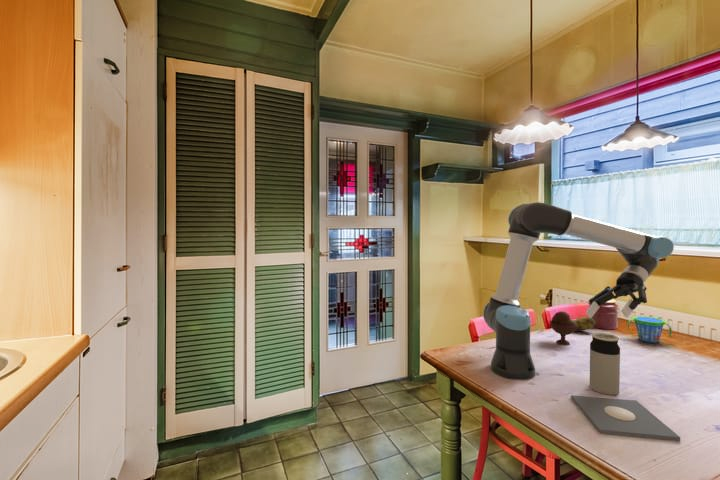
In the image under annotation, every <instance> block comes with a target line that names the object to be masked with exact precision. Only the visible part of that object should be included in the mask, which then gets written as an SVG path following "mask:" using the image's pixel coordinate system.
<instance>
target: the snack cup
mask: <svg viewBox="0 0 720 480" xmlns="http://www.w3.org/2000/svg"><path fill="white" fill-rule="evenodd" d="M632 321H634V323H635V324H634V325H635V327H636V332H637V337H638V339H639V340H640V341H641V342H646V343H654V344H657V343H659V342H661V341H660V340H661V336H662V331H663V328H664V325H666V326H668V329H669V334H668V337H672V333H673V330H672V326H671V325H670V324H669V323H668V322H667V321H666V322H665V320H664V319H662V318H661V319H660V318H657V317H652V316H644V315H643V316H641V315H640V316H635V317H632V318H630V319H629V320H628V322H627V330H628V332H630V323H631V322H632Z"/></svg>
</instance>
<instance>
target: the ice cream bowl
mask: <svg viewBox="0 0 720 480" xmlns="http://www.w3.org/2000/svg"><path fill="white" fill-rule="evenodd" d="M549 325H550V328H551V329H552V330H553V331H554V332H555V333H556V334H559V335H560V339H557V340H556V341H555V342H556V344H557V345H561V346H570V342H569V341H568V340H566V336H569V335H571V334H573V333H575V332H576V331H575V330H576V329H577V324H576V323H574V322H573V321H572V319H571V316H570V314H569V313H568V312H566V311H563V310H562V311H558V312H556V313H555V314H554V315H553V316H552V318H551V320H549Z"/></svg>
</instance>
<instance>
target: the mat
mask: <svg viewBox="0 0 720 480" xmlns="http://www.w3.org/2000/svg"><path fill="white" fill-rule="evenodd" d="M570 399H571V400H572V401H573V403H574V404H575V405H576V407H578V409H579V410H580V411H581V412H582V413H583V415H584V416H585V417H586V418H587V420H588V421H589V422H590V423H591V424H592V425H593V427H594V428H595V429H596V431H598V433H599V434H606V435H615V436H623V437H625V436H626V437H632V438H633V437H634V438H635V437H636V438H645V439H655V440H665V441H666V440H667V441H676V442H677V441H678V442H681V437H680V435H678V433H676V432H675V431H673V430H672V429H671V428H670V427H669V426H668V425H666V424H665V423H664V422H663V421H662V420H660V419H659V418H658V417H657V416H656V415H654V414H653V413H652V412H651V411H649V409H647V408H646V407H645V406H644V405H642V403H640V402H639V401H637V400H636V399H635V400H634V399H623V398H610V397H609V398H608V397H599V396H598V397H597V396H585V395H584V396H583V395H573V394H571V395H570Z"/></svg>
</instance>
